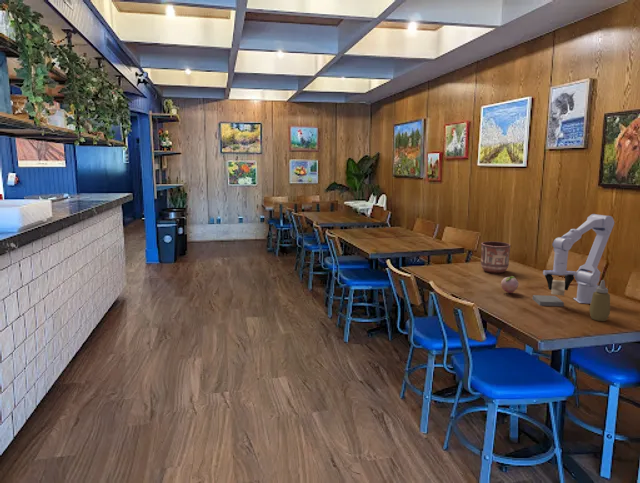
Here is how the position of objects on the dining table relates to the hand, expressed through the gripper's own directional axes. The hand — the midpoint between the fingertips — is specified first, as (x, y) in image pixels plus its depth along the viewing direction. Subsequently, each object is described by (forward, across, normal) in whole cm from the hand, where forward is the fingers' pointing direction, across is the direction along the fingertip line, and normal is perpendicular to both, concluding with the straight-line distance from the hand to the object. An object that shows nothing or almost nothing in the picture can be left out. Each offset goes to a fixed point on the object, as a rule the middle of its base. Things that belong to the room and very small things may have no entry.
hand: (557, 289), depth 224 cm
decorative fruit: (+8, +18, -18) cm, 27 cm away
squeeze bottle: (+8, -11, +19) cm, 23 cm away
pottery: (+8, +14, -68) cm, 70 cm away
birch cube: (+2, 0, 0) cm, 2 cm away
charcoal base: (+8, +3, -4) cm, 10 cm away
